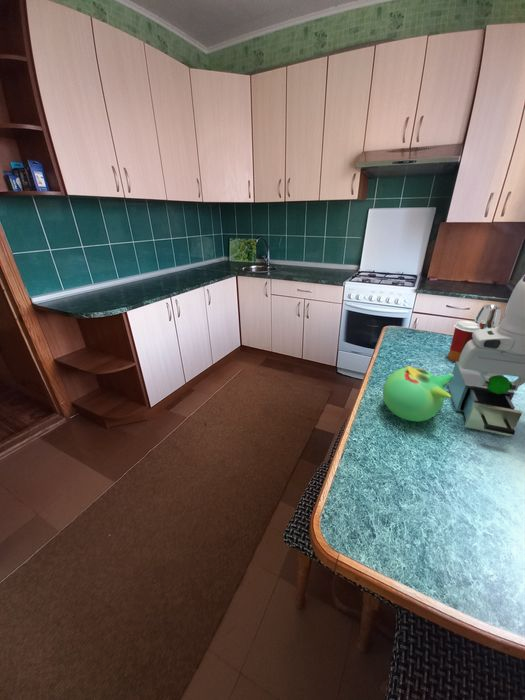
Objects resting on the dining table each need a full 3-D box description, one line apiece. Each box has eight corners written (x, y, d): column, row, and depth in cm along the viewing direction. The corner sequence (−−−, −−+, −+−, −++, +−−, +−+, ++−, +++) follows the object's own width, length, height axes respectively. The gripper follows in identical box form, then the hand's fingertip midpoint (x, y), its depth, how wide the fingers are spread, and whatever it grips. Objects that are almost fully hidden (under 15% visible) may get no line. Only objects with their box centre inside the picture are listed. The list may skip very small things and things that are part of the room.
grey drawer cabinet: (502, 419, 84) (514, 392, 79) (456, 411, 88) (465, 384, 83) (487, 391, 96) (498, 367, 91) (447, 385, 100) (455, 361, 95)
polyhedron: (498, 399, 75) (505, 384, 73) (479, 389, 79) (485, 374, 77) (511, 394, 77) (518, 379, 74) (492, 385, 81) (498, 370, 79)
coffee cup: (467, 356, 117) (479, 321, 110) (470, 365, 111) (483, 329, 104) (443, 352, 120) (454, 318, 113) (445, 361, 114) (456, 326, 107)
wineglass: (459, 349, 122) (474, 304, 113) (475, 347, 123) (492, 302, 114) (474, 358, 115) (492, 311, 106) (491, 356, 117) (510, 309, 107)
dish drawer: (517, 450, 72) (530, 427, 69) (469, 440, 76) (479, 417, 72) (495, 406, 88) (504, 384, 84) (455, 399, 91) (463, 378, 88)
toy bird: (386, 389, 98) (394, 351, 91) (443, 405, 90) (456, 364, 83) (373, 420, 85) (382, 378, 78) (439, 442, 77) (455, 397, 70)
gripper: (564, 340, 70) (540, 387, 76) (466, 330, 77) (451, 374, 83) (578, 352, 65) (551, 401, 71) (472, 339, 71) (455, 386, 78)
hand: (497, 386), depth 77 cm, fingers closed on polyhedron, 5 cm apart
